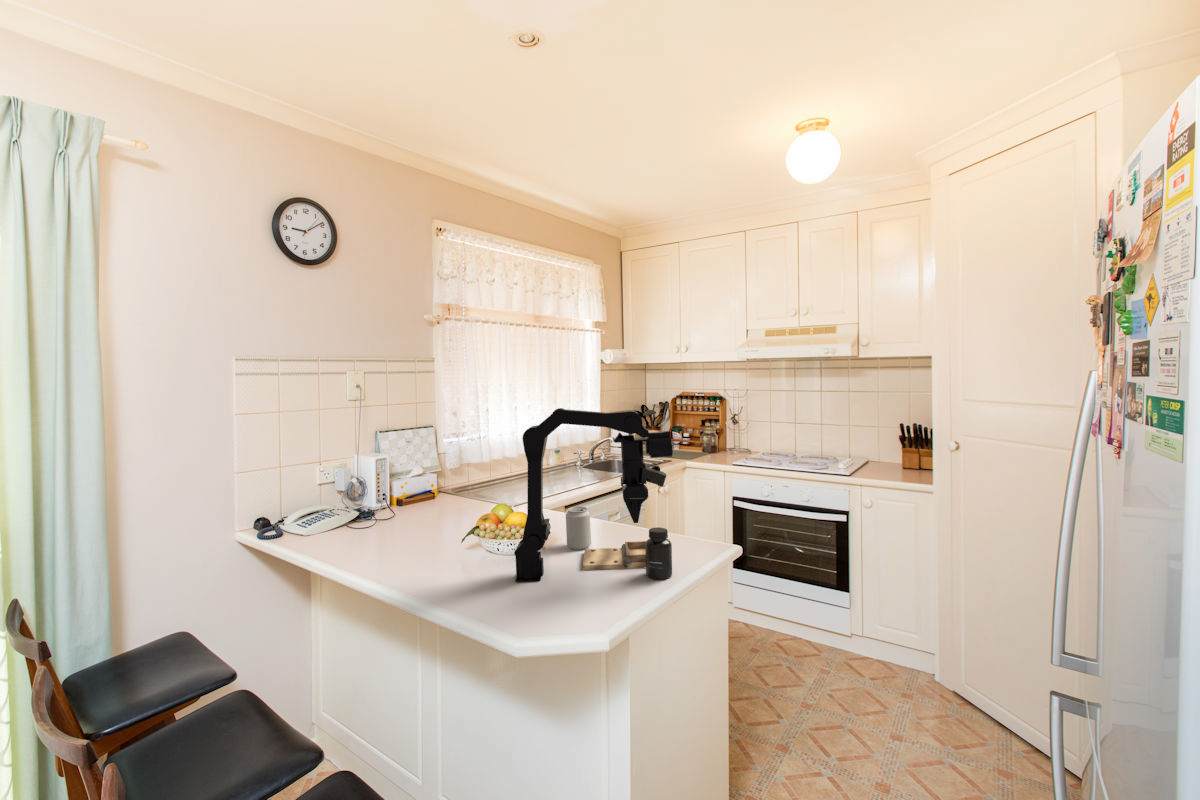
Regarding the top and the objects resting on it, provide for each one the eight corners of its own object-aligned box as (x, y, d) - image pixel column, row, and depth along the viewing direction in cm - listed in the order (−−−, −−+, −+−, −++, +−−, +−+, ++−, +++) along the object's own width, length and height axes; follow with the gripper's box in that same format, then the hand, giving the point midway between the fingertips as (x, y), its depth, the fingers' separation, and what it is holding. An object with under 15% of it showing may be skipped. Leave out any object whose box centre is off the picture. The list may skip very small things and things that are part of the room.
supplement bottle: (651, 582, 133) (649, 534, 132) (642, 572, 139) (640, 527, 139) (677, 578, 135) (675, 531, 134) (666, 569, 141) (664, 524, 141)
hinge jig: (583, 570, 143) (582, 558, 143) (585, 553, 157) (584, 542, 157) (671, 566, 143) (671, 554, 143) (665, 550, 157) (665, 539, 157)
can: (590, 550, 159) (589, 511, 159) (566, 551, 159) (564, 511, 159) (591, 542, 167) (590, 505, 166) (568, 543, 167) (566, 506, 166)
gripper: (667, 463, 128) (670, 526, 129) (659, 452, 147) (661, 508, 148) (621, 465, 129) (624, 528, 129) (619, 454, 147) (621, 509, 148)
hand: (634, 518), depth 138 cm, fingers open, 9 cm apart
